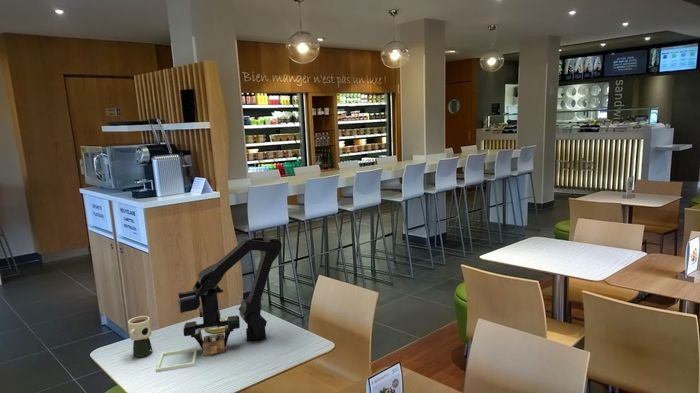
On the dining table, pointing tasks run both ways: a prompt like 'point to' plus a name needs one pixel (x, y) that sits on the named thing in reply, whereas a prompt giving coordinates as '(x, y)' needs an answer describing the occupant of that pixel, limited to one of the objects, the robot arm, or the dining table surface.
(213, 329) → the decorated donut
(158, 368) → the tray
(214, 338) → the stake
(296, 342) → the dining table surface
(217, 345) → the brown piece
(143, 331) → the character mug
